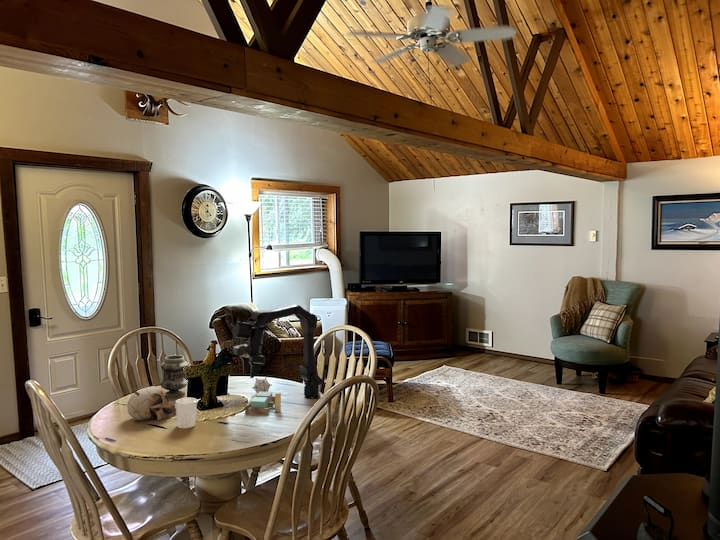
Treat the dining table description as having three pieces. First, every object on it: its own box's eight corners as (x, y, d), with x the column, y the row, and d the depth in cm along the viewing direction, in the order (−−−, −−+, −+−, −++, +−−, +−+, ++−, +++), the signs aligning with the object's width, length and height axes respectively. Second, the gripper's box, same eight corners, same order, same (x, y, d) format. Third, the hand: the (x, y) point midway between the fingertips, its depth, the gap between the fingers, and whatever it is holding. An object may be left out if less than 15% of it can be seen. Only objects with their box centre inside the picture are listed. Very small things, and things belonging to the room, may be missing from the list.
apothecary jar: (182, 399, 233) (182, 360, 232) (156, 398, 233) (156, 359, 232) (191, 391, 245) (191, 354, 244) (166, 390, 245) (166, 353, 244)
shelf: (277, 401, 233) (277, 393, 233) (268, 414, 215) (268, 406, 215) (256, 400, 234) (256, 393, 233) (245, 413, 216) (245, 405, 215)
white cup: (177, 430, 196) (177, 404, 195) (174, 423, 202) (174, 398, 202) (198, 427, 199) (198, 402, 199) (194, 420, 206) (194, 396, 206)
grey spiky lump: (264, 403, 241) (269, 390, 236) (247, 396, 241) (251, 383, 236) (271, 389, 249) (275, 376, 243) (255, 382, 249) (259, 369, 243)
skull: (182, 411, 216) (179, 381, 214) (156, 430, 200) (152, 397, 198) (150, 408, 220) (147, 379, 218) (122, 426, 204) (118, 394, 202)
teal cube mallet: (282, 409, 222) (282, 391, 222) (279, 413, 216) (279, 395, 216) (254, 408, 223) (254, 390, 223) (250, 412, 217) (250, 394, 217)
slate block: (272, 402, 231) (272, 392, 231) (269, 407, 225) (269, 396, 225) (259, 402, 232) (259, 391, 231) (255, 406, 226) (255, 395, 225)
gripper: (231, 334, 225) (223, 369, 224) (244, 340, 209) (236, 378, 208) (255, 337, 231) (247, 372, 229) (269, 344, 215) (262, 381, 213)
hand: (248, 375), depth 220 cm, fingers open, 9 cm apart
